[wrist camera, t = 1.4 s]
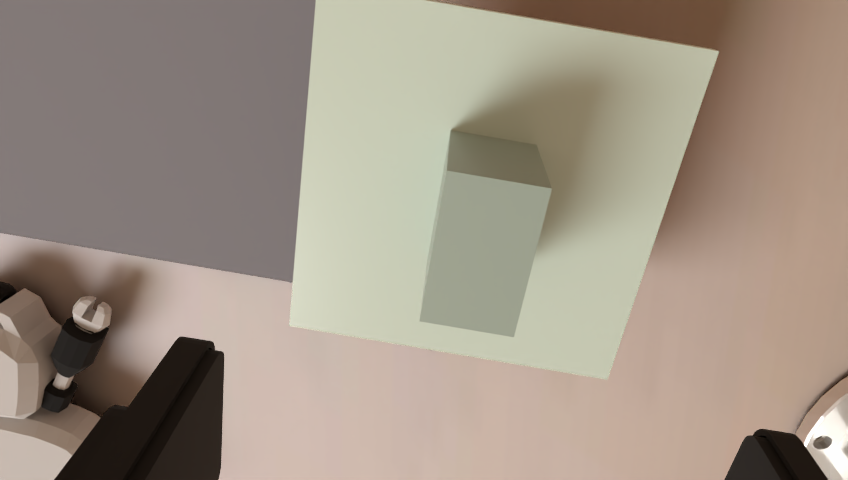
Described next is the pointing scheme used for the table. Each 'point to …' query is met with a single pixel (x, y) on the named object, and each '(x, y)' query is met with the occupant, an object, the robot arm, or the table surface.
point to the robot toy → (43, 382)
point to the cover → (485, 179)
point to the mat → (157, 127)
